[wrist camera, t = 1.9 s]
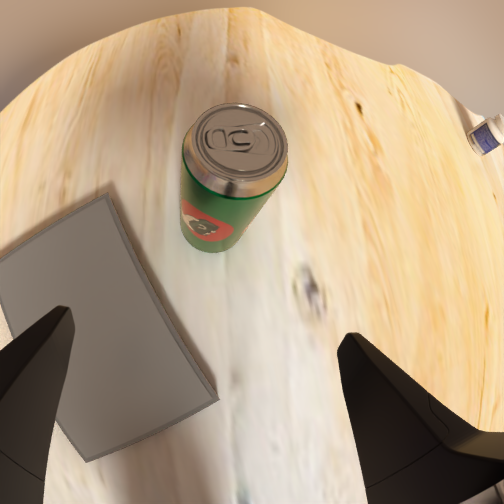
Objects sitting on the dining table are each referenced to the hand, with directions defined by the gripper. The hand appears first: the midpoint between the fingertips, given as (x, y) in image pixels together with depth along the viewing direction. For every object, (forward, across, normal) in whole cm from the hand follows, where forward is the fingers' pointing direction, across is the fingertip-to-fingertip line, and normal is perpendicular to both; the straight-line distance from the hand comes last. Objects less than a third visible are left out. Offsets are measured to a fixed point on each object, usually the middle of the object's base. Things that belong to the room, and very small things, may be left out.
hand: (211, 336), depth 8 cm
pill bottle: (+32, -45, -13) cm, 57 cm away
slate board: (+8, +8, +11) cm, 16 cm away
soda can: (+15, 0, +4) cm, 16 cm away
